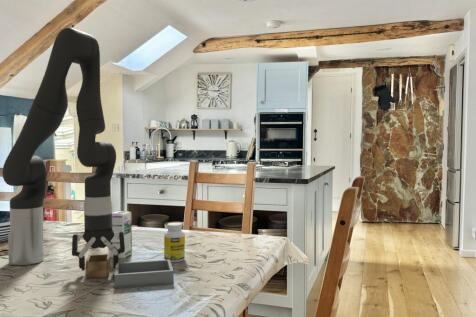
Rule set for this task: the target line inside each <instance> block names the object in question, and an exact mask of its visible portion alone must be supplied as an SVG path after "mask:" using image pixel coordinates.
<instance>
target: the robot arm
mask: <svg viewBox="0 0 476 317" xmlns="http://www.w3.org/2000/svg"><path fill="white" fill-rule="evenodd" d="M100 54H101V52H100V45H99V42H98V39H97V38H96V37H95V36H93V35H91V34H89V33H87V32H85V31H82V30H79V29H75V28H72V27H64V28H62V29H61V30H60V31H59V32H58V34H57V35H56V37H55V40H54V42H53V44H52V48H51V51H50V55H49V59H48V62H47V66H46V68H45V71H44V75H43V77H42V80H41V82H40V85H39V88H38V89H37V92H36V95H35V97H34V98H33V101H32V104H31V107H30V108H29V111H28V114H27V117H26V120H25V122H24V123H23V126H22V128H21V131H20V133H19V135H18V137H17V139H16V141H15V142H14V144H13V146H12V147H11V149H10V151H9V153H8V155H7V156H6V159H5V161H4V164H3V166H2V178H3V179H2V180H3V181H4V182H5V184H6V185H9V186H12V187H21V186H22V189H21V190H20V191H19V192H18V194H16V195H15V196H13V197H11V198H10V199H9V224H10V225H9V229H10V230H9V231H10V232H9V233H8V234H7V242H8V252H7V253H8V265H10V266H12V265H13V266H29V265H35V264H38V263H41V262H43V261H44V260H45V258H44V257H45V256H44V255H45V254H44V252H45V251H44V199H45V196H46V186H47V185H46V184H47V183H46V182H47V181H46V180H47V169H46V164H45V162H44V160H43V158H42V157H40V156H38V155H34V154H35V153H36V151H37V150H38V149H39V147H40V146H41V145H42V144H44V142H46V141H47V139H49V138H50V137H51V136H52V135H53V134H54V133H55V132H56V131H57V130H58V129H60V128H59V127H60V126H61V124H62V122H63V120H64V117H65V115H66V113H67V111H68V105H69V103H68V102H69V99H68V94H67V86H66V80H67V77H68V74H69V70H70V68H71V65H72V63H73V64H77V65H79V68H80V71H81V75H82V80H81V81H82V82H81V87H80V90H79V92H78V95H77V98H76V102H75V106H76V108H75V109H76V116H77V122H78V128H79V129H78V130H79V131H78V139H77V147H76V148H77V149H76V154H77V155H76V156H77V159H78V162H79V163H80V164H81V165H82V166H84V167H86V168H95V167H96V169H95V171H94V173H93V174H91V175H88V176H87V177H85V180H84V202H83V203H84V204H83V214H84V221H83V223H84V224H83V225H84V232H83V233H78V232H75V233H73V235H72V238H71V255H72V256H73V257H77V258H78V267H79V269H80V270H81V271H86V264H85V263H86V256H85V255H86V253H87V252H88V251H89V249H90V248H92V249H93V250H95V249H98V248H100V249H105V248H106V247H107V248H109V249H110V250H111V251H112V252H113V258H112V264H113V265H112V268H113V269H115V268H116V263H120V262H119V258H118V255H119V254H120V253H124V252H125V243H124V232H123V231H122V230H121V231H120V232H113V229H112V213H113V203H112V202H113V201H112V185H111V182H112V178H113V174H114V169H115V165H116V160H117V152H116V148H115V146H114V145H113V144H112V143H110V142H109V141H96V138H97V135H101V134H102V133H103V132H104V131H105V130H106V123H105V121H106V120H105V116H104V111H103V105H102V98H101V55H100ZM114 236H116V237H117V239H120V248H119V249H117V248H116V247H115V246H114V244H113V243H112V242H111V240H112V238H113V237H114ZM81 239H83V241H85V243H86V244H85V245H84V247H83V248H82V249H81V250H78V249H79V248H78V247H79V246H78V245H79V242H80V241H81Z"/></svg>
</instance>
